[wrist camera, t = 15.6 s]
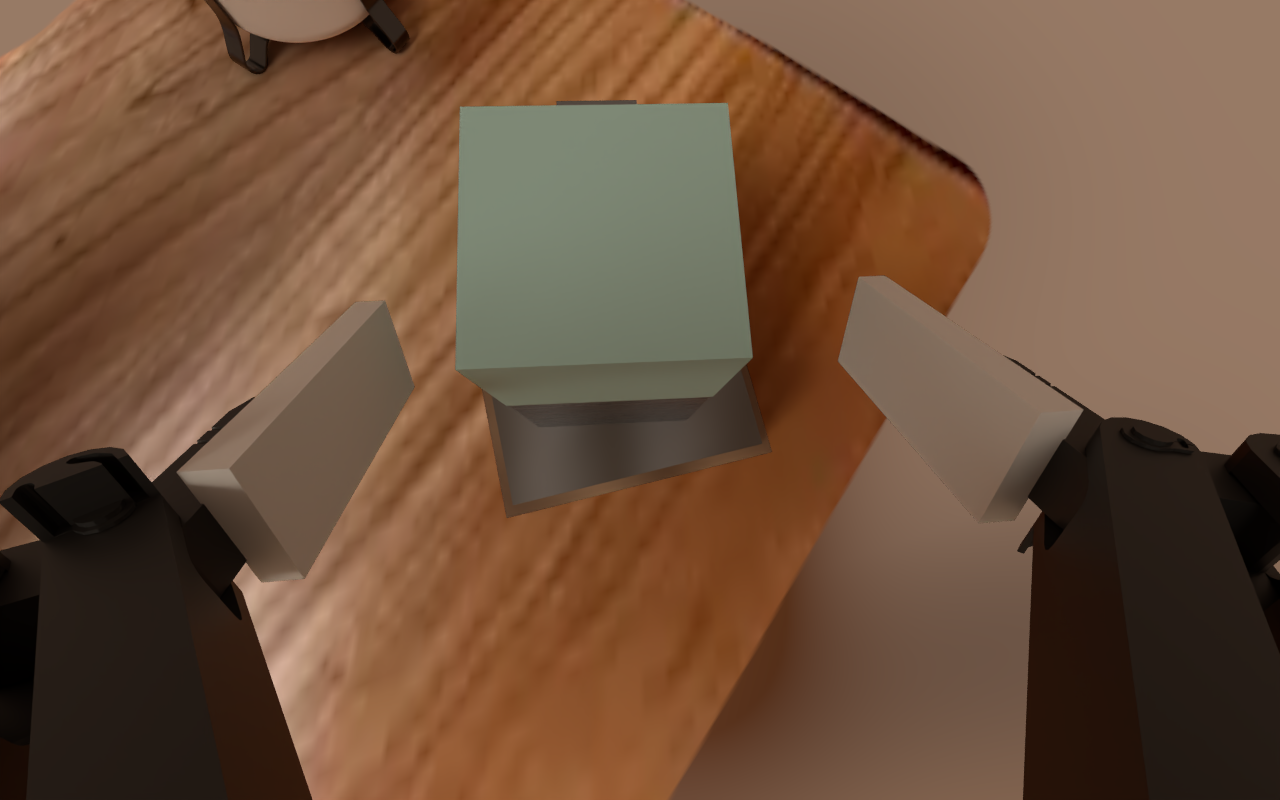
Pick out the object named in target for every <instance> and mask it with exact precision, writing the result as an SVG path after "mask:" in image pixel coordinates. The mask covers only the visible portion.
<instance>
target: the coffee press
mask: <svg viewBox="0 0 1280 800" xmlns="http://www.w3.org/2000/svg"><path fill="white" fill-rule="evenodd" d="M205 1H206V3H207V4H208V5H209V6H210V8H211V9H212V10H213V11H214V13H215V14H216V16H217V17H218V19H219V21H220V24H221V26H222V30H223V33H224V37H225V41H226V46H227V50H228V54H229V56H230V58H231V59H232V60H233V61H234V62H235V63H237V64H238V65H240V66H242V67H243V68H245V69H247V70H248V71H250V72H251V73H253V74H261V73H263V72H264V71H265V70H266V68H267V63H268V57H267V50H268V42H269V39H270V40H275V41H280V42H290V43H304V42H314V41H319V40H324V39H328V38H331V37H334V36H336V35H339V34H341V33H343V32H346V31H347V30H349V29H351V28H353V27H354V26H356V25H357V24H359V23H360V22H361V23H362V24H364V25H365V26H366V27H367V28H368V29H369V30H370V31H371V32H372V33H373V34H374V35H375V36H376V37H377V38H378V39H379V40H380V41H381V42H382V44H383V45H384V46H385V47H386V48H387V49H389V50H390V51H391V52H393V53H395V54H397V53H398V52H399V51H400V50H401V48H402V47H403V46H404V45H405V44H406V43H407V42H408V41H409V39H410V38H409V34H408V32H407V31H406V29H405V28H404V26H403V25H402V24H401V23H400V21H399V20H398V19H397V18H396V16H395V15H394V14H393V13H392V11H391V10H390V9H389V8H388V6H387V5H386V4H385V2H384V1H383V0H205ZM235 25H237V26H239V27H240V28H242V29H244V30H246V31H248V32H250V57H249V59H248V60H247V61H246V60H245V55H244V50H243V46H242V41H241V38H240V35H239V32H238V29H237V27H236V26H235Z"/></svg>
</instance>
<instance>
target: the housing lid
mask: <svg viewBox="0 0 1280 800" xmlns="http://www.w3.org/2000/svg"><path fill="white" fill-rule="evenodd" d="M556 102H557V105H553V106H481V107H460V136H459V193H458V250H457V308H456V365H455V370H456V371H458V372H459V373H461V374H462V375H463V376H465V377H466V378H468V379H469V380H471V381H472V382H473V383H475V384H476V385H478V386H479V387H480V388H482V389H483V390H485V391H486V392H487V393H489V394H490V395H492V396H493V397H494V398H496V399H497V400H499V401H500V402H501V403H503V404H504V405H506V406H518V405H540V404H563V403H585V402H608V401H630V400H652V399H675V398H697V397H713V396H714V395H715V394H716V393H717V392H718V391H719V390H720V389H721V388H722V387H723V386H724V385H725V384H726V383H727V382H728V381H729V380H730V379H732V378H733V377H734V376H735V375H736V374H737V373H738V372H739V371H740V370H741V369H742V368H743V367H744V366H745V365H746V364H747V363H748V362H749V361H750V360H751V359H752V358H753V355H752V344H751V334H750V324H749V314H748V304H747V294H746V283H745V273H744V263H743V253H742V243H741V233H740V222H739V212H738V202H737V192H736V182H735V172H734V162H733V151H732V141H731V131H730V121H729V111H728V103H698V104H637V103H636V100H617V101H556Z"/></svg>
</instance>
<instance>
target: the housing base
mask: <svg viewBox="0 0 1280 800" xmlns="http://www.w3.org/2000/svg"><path fill="white" fill-rule="evenodd" d="M708 398H709V397H697V398H675V399H652V400H630V401H608V402H585V403H563V404H540V405H518V406H511V407H512V408H513V409H515V410H516V411H517V412H519V413H520V414H522V415H523V416H524V417H526V418H527V419H528V420H530V421H531V422H532V423H534V424H535V425H537V426H538V427H560V426H580V425H600V424H620V423H640V422H661V421H681V420H687V419H688V418H689V417H690V416H691V415H692V414H693V413H694V412H695V411H696V410H697V409H698V408H699V407H700V406H701V405H702V404H703V403H704V402H705V401H706V400H707V399H708Z"/></svg>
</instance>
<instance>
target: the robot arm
mask: <svg viewBox="0 0 1280 800" xmlns="http://www.w3.org/2000/svg"><path fill="white" fill-rule="evenodd" d="M838 362H839V363H840V364H841V365H842V367H843V368H844V369H845V370H846V371H847V372H848V374H849V375H850V376H851V377H852V378H853V379H854V380H855V382H856V383H857V384H858V385H859V386H860V387H861V388H862V390H863V391H864V392H865V393H866V394H867V395H868V397H869V398H870V399H871V400H872V401H873V402H874V403H875V405H876V406H877V407H878V408H879V409H880V410H881V412H882V413H883V414H884V415H885V416H886V417H887V418H888V420H889V421H890V422H891V423H892V424H893V425H894V426H895V428H896V429H897V430H898V431H899V432H900V433H901V435H902V436H903V437H904V438H905V439H906V440H907V441H908V443H909V444H910V445H911V446H912V447H913V448H914V449H915V451H916V452H917V453H918V454H919V455H920V456H921V458H922V459H923V460H924V461H925V462H926V463H927V464H928V466H929V467H930V468H931V469H932V470H933V471H934V473H935V474H936V475H937V476H938V477H939V478H940V479H941V481H942V482H943V483H944V484H945V485H946V486H947V488H948V489H949V490H950V491H951V492H952V493H953V494H954V495H955V497H956V498H957V499H958V500H959V501H960V502H961V504H962V505H963V506H964V507H965V508H966V509H967V511H968V512H969V513H970V514H971V515H972V516H973V517H974V519H975V520H976V521H977V522H978V523H988V522H999V521H1012V520H1015V519H1016V517H1017V516H1018V514H1019V512H1020V511H1021V509H1022V508H1023V506H1024V504H1025V503H1026V501H1027V500H1028V498H1029V499H1030V500H1031V501H1033V502H1034V503H1035V504H1036V505H1037V506H1038V507H1039V508H1040V509H1041V510H1042V513H1041V514H1040V516H1039V517H1038V519H1037V520H1036V522H1035V523H1034V525H1033V526H1032V528H1031V529H1030V531H1029V532H1028V534H1027V535H1026V537H1025V538H1024V540H1023V541H1022V543H1021V544H1020V546H1019V548H1018V550H1017V551H1018V552H1021V553H1025V551H1026V550H1027V548H1028V547H1031V546H1033V562H1032V585H1031V612H1030V636H1029V637H1030V638H1029V662H1028V687H1027V689H1028V690H1027V712H1026V713H1027V714H1026V738H1025V762H1024V788H1023V800H1280V574H1279V572H1278V571H1277V570H1276V569H1275V567H1274V566H1273V565H1274V564H1275V563H1277V562H1278V561H1279V560H1280V435H1276V434H1264V433H1260V434H1254V435H1250V436H1248V437H1247V438H1246V440H1245V441H1244V442H1243V443H1242V444H1241V445H1240V446H1239V447H1238V448H1237V450H1236V451H1235V452H1234V453H1233V454H1232V455H1224V454H1216V453H1208V452H1201V451H1199V449H1198V448H1197V447H1196V446H1195V444H1193V443H1192V442H1190V441H1189V440H1188V439H1186V438H1184V437H1183V436H1181V435H1180V434H1177V433H1175V432H1173V431H1171V430H1169V429H1167V428H1164V427H1162V426H1159V425H1155V424H1152V423H1149V422H1146V421H1142V420H1137V419H1131V418H1109V419H1106V420H1104V419H1103V418H1102V417H1100V416H1099V415H1097V414H1096V413H1094V412H1093V411H1091V410H1089V409H1088V408H1087V407H1085V406H1084V405H1082V404H1081V403H1079V402H1077V401H1076V400H1075V399H1073V398H1072V397H1070V396H1069V395H1067V394H1066V393H1064V392H1063V391H1061V390H1059V389H1058V388H1057V387H1055V386H1050V383H1049V382H1047V381H1046V380H1045V379H1043V378H1041V377H1040V376H1035V373H1034V372H1032V371H1031V370H1030V369H1028V368H1027V367H1025V366H1024V365H1022V364H1020V363H1019V362H1017V361H1016V360H1013V359H1011V358H1008V357H1006V356H1004V355H1001V354H1000V353H999V352H997V351H996V350H994V349H992V348H991V347H990V346H988V345H987V344H985V343H984V342H982V341H981V340H979V339H978V338H977V337H975V336H974V335H972V334H971V333H969V332H968V331H966V330H965V329H963V328H962V327H960V326H959V325H957V324H956V323H954V322H953V321H951V320H950V319H948V318H947V317H945V316H944V315H942V314H941V313H940V312H938V311H937V310H935V309H934V308H932V307H931V306H929V305H928V304H926V303H925V302H923V301H922V300H920V299H919V298H917V297H916V296H914V295H913V294H911V293H910V292H908V291H907V290H905V289H904V288H902V287H901V286H900V285H898V284H897V283H895V282H894V281H892V280H891V279H889V278H888V277H886V276H866V277H859V278H858V282H857V286H856V290H855V294H854V298H853V302H852V306H851V310H850V314H849V318H848V322H847V326H846V330H845V334H844V338H843V343H842V347H841V351H840V355H839V359H838ZM413 389H414V384H413V381H412V378H411V375H410V372H409V369H408V366H407V363H406V360H405V357H404V355H403V352H402V349H401V346H400V343H399V340H398V337H397V334H396V331H395V328H394V325H393V322H392V320H391V317H390V314H389V311H388V308H387V305H386V302H385V301H365V302H355V303H354V304H353V305H352V306H351V307H350V308H349V309H348V310H347V311H346V312H344V313H343V314H342V315H341V316H340V317H339V318H338V319H337V320H336V321H335V322H334V323H333V324H332V325H331V326H330V327H329V328H328V329H327V330H326V331H324V332H323V333H322V334H321V335H320V336H319V337H318V338H317V339H316V340H315V341H314V342H313V343H312V344H311V345H310V346H309V347H308V348H307V349H306V350H304V351H303V352H302V353H301V354H300V355H299V356H298V357H297V358H296V359H295V360H294V361H293V362H292V363H291V364H290V365H289V366H288V367H287V368H286V369H284V370H283V371H282V372H281V373H280V374H279V375H278V376H277V377H276V378H275V379H274V380H273V381H272V382H271V383H270V384H269V385H268V386H267V387H266V388H264V389H263V390H262V391H261V392H260V393H259V394H258V395H257V396H256V397H253V398H251V399H250V400H248V401H246V402H245V403H243V404H241V405H239V406H238V407H236V408H234V409H232V410H231V411H229V412H228V413H227V414H226V415H225V416H224V417H222V418H221V419H220V420H219V421H218V422H217V423H216V424H215V425H214V426H213V427H212V431H207V432H206V433H205V434H204V435H203V436H202V437H201V438H200V439H199V440H198V441H197V442H198V443H197V444H193V445H192V446H191V447H190V448H189V449H188V450H187V451H186V452H184V453H183V454H182V455H181V456H180V457H179V458H178V459H177V460H176V461H175V462H174V463H173V464H171V465H170V466H169V467H168V468H167V469H166V470H165V471H164V472H163V473H162V474H161V475H159V476H158V477H157V478H156V479H155V480H154V481H153V482H152V483H151V481H150V480H149V479H148V478H147V477H146V475H145V474H144V473H143V472H142V470H141V469H140V468H139V467H138V466H137V464H136V463H135V462H134V461H133V460H132V458H131V457H130V456H129V455H128V454H127V453H126V452H125V450H124V449H120V448H112V447H107V448H99V449H91V450H87V451H83V452H80V453H76V454H73V455H69V456H66V457H63V458H61V459H59V460H56V461H54V462H51V463H49V464H46V465H44V466H42V467H40V468H38V469H36V470H35V471H33V472H31V473H29V474H27V475H25V476H24V477H22V478H20V479H19V480H18V481H17V482H15V483H14V484H13V485H12V486H10V487H9V488H8V489H7V490H5V492H4V493H3V495H2V496H1V498H0V504H1V505H2V506H3V507H4V508H5V509H7V510H8V511H9V512H10V513H11V514H12V515H13V516H14V517H15V518H17V519H18V520H19V521H20V522H21V523H22V524H23V525H24V526H25V527H27V528H28V529H29V530H30V531H31V532H32V533H33V534H34V535H35V536H37V537H38V538H39V539H40V540H39V541H35V542H31V543H28V544H24V545H20V546H16V547H12V548H9V549H5V550H1V551H0V800H312V797H311V794H310V791H309V788H308V785H307V782H306V779H305V776H304V773H303V770H302V767H301V765H300V762H299V759H298V756H297V753H296V750H295V747H294V744H293V741H292V738H291V735H290V732H289V729H288V726H287V723H286V720H285V717H284V714H283V711H282V708H281V705H280V702H279V699H278V696H277V694H276V691H275V688H274V685H273V682H272V679H271V676H270V673H269V670H268V667H267V664H266V661H265V658H264V655H263V652H262V649H261V646H260V643H259V640H258V637H257V634H256V631H255V628H254V625H253V623H252V620H251V617H250V614H249V611H248V608H247V605H246V602H245V599H244V596H243V593H242V591H241V590H240V589H239V588H238V587H237V585H236V584H235V583H234V582H233V579H234V578H235V576H236V575H237V574H238V572H239V571H240V569H241V568H242V567H243V565H244V564H245V562H246V563H247V564H248V566H249V567H250V568H251V569H252V571H253V572H254V573H255V575H256V576H257V577H258V579H259V580H260V581H261V582H274V581H286V580H298V579H305V577H306V576H307V574H308V572H309V570H310V569H311V567H312V565H313V563H314V562H315V560H316V558H317V556H318V555H319V553H320V551H321V549H322V548H323V546H324V544H325V542H326V541H327V539H328V537H329V535H330V534H331V532H332V530H333V528H334V527H335V525H336V523H337V521H338V520H339V518H340V516H341V514H342V513H343V511H344V509H345V507H346V506H347V504H348V502H349V500H350V499H351V497H352V495H353V493H354V492H355V490H356V488H357V486H358V485H359V483H360V481H361V480H362V478H363V476H364V474H365V473H366V471H367V469H368V467H369V466H370V464H371V462H372V460H373V459H374V457H375V455H376V453H377V452H378V450H379V448H380V446H381V445H382V443H383V441H384V439H385V438H386V436H387V434H388V432H389V431H390V429H391V427H392V425H393V424H394V422H395V420H396V418H397V417H398V415H399V413H400V411H401V410H402V408H403V406H404V404H405V403H406V401H407V399H408V397H409V396H410V394H411V392H412V390H413Z"/></svg>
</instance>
